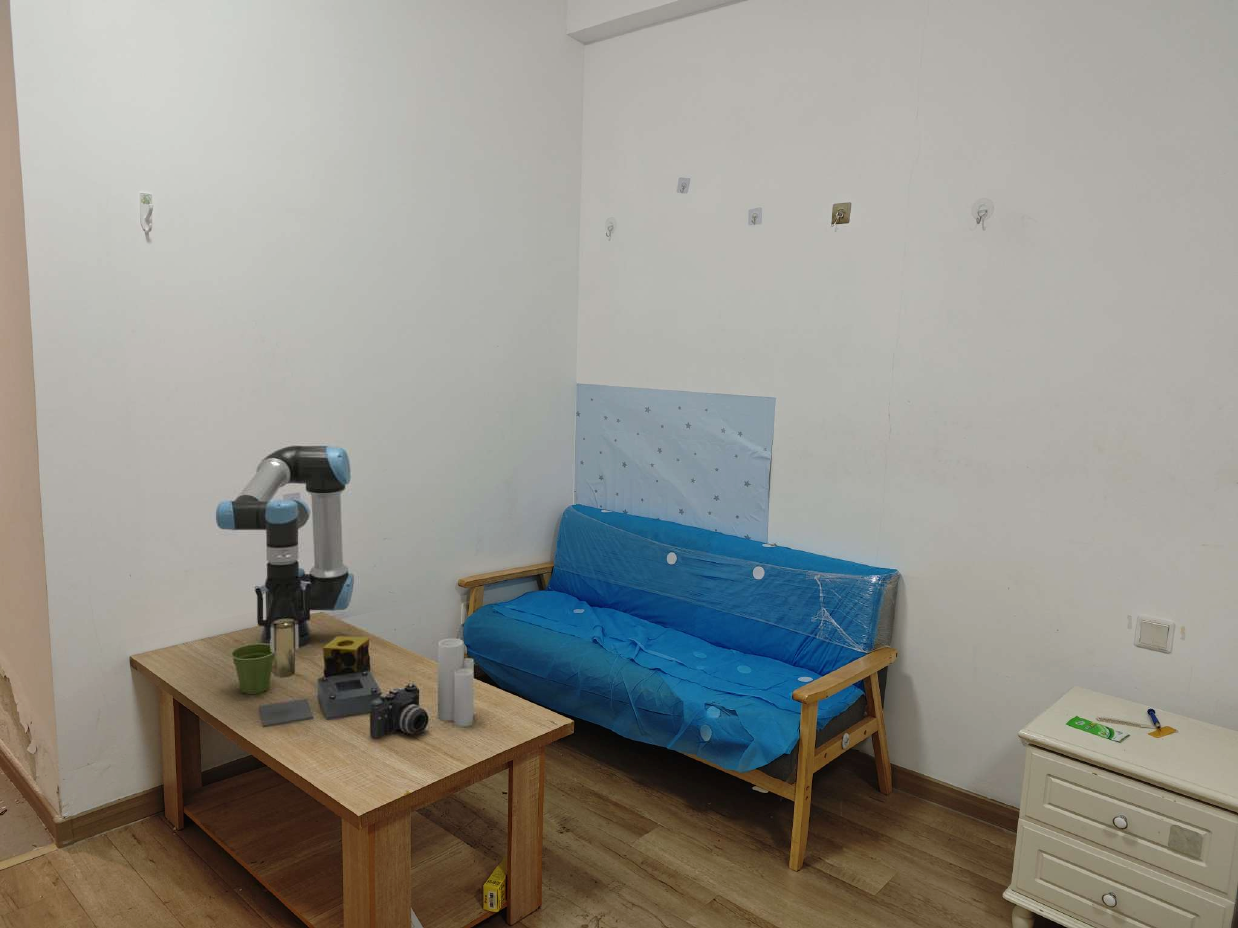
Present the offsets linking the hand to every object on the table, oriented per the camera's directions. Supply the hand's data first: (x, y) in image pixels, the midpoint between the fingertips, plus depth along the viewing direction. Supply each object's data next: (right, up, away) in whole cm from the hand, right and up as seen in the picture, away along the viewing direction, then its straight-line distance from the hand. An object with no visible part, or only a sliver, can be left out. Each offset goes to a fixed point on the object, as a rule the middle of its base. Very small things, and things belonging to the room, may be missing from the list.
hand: (284, 648), depth 212 cm
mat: (-1, -18, +3) cm, 18 cm away
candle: (+7, -14, +29) cm, 33 cm away
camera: (+32, -20, -5) cm, 38 cm away
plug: (0, -7, +1) cm, 7 cm away
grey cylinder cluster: (+44, -19, +4) cm, 48 cm away
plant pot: (-15, -15, +16) cm, 27 cm away
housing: (+13, -17, +10) cm, 24 cm away
